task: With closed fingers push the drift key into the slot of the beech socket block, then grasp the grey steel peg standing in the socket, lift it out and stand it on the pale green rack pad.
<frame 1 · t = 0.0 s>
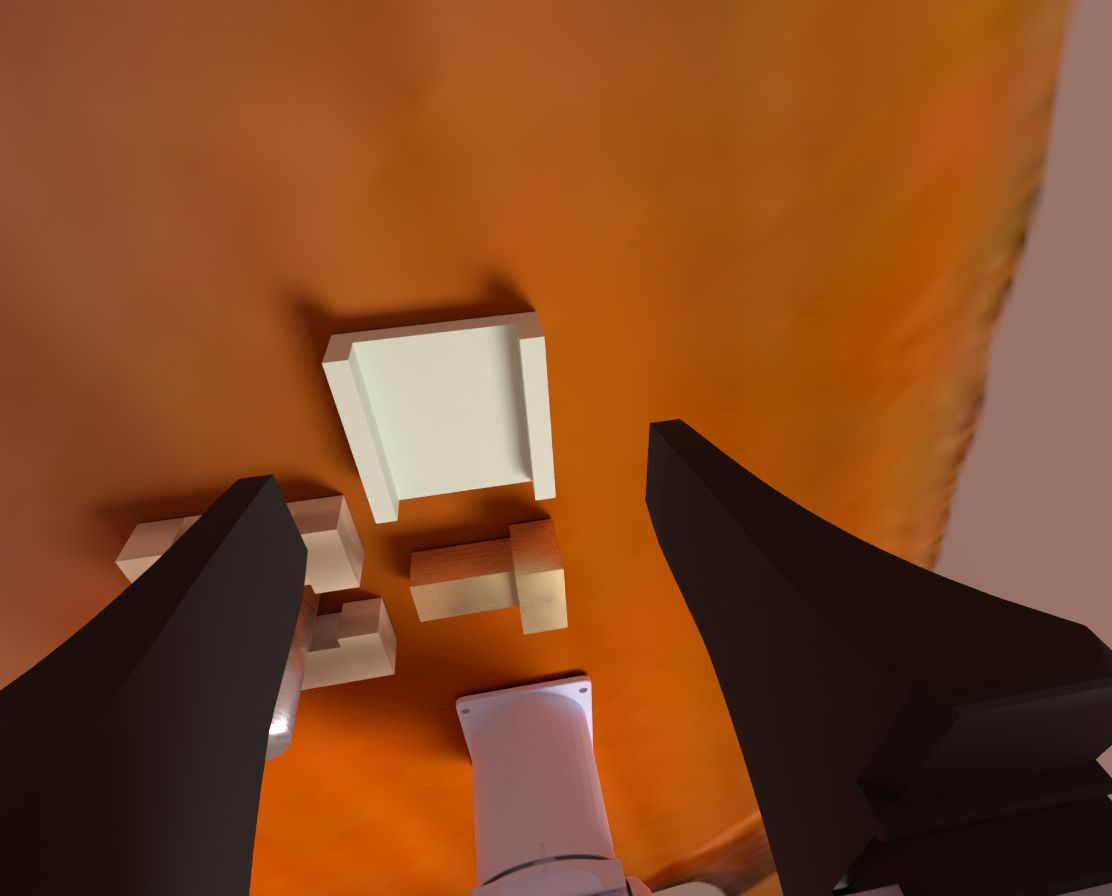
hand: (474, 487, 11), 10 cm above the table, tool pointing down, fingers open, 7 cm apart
drift key: (488, 584, 26), point 2 cm above the table, slide at 0.0 cm
rack pad: (452, 407, 22), on the table
peg: (265, 656, 23), in the socket block
socket block: (284, 589, 26), on the table
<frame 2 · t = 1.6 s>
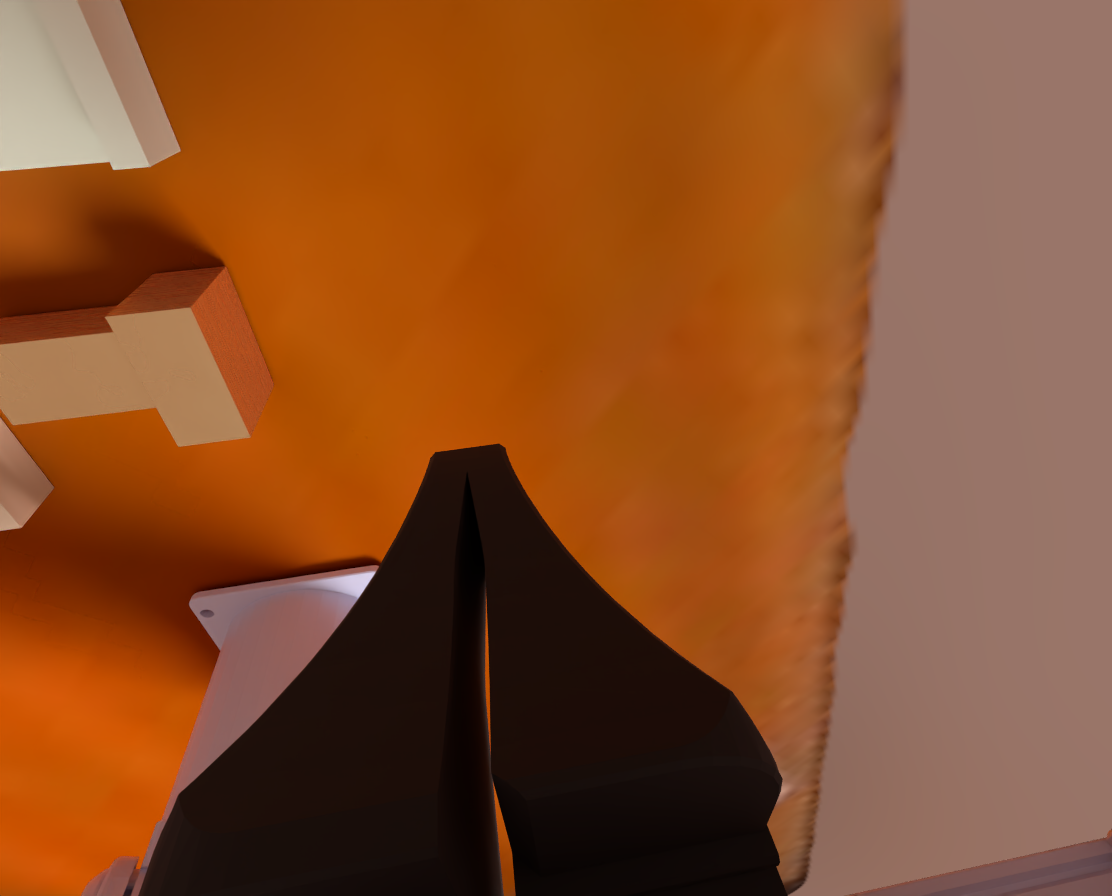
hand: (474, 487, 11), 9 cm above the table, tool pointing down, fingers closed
drift key: (119, 365, 16), point 2 cm above the table, slide at 0.0 cm
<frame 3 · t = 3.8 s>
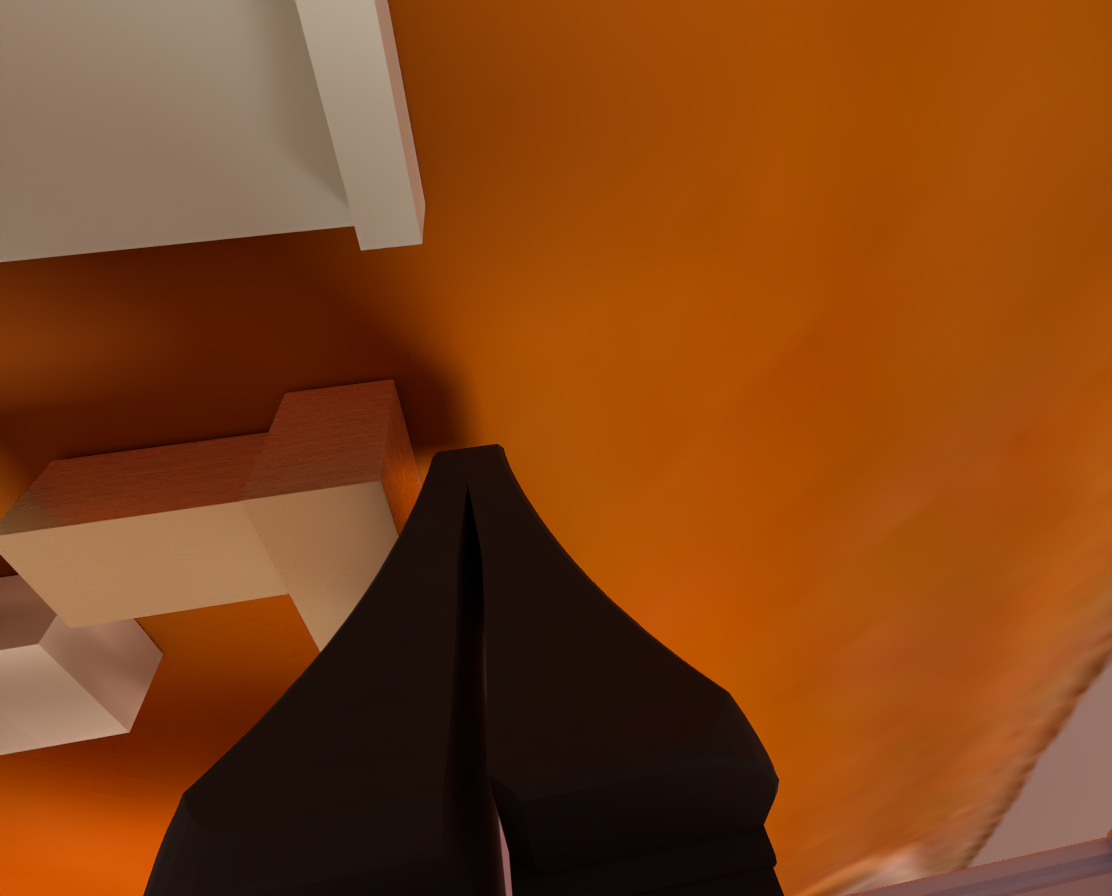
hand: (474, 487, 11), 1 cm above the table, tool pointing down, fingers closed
drift key: (234, 536, 11), point 2 cm above the table, slide at 1.2 cm, touching gripper
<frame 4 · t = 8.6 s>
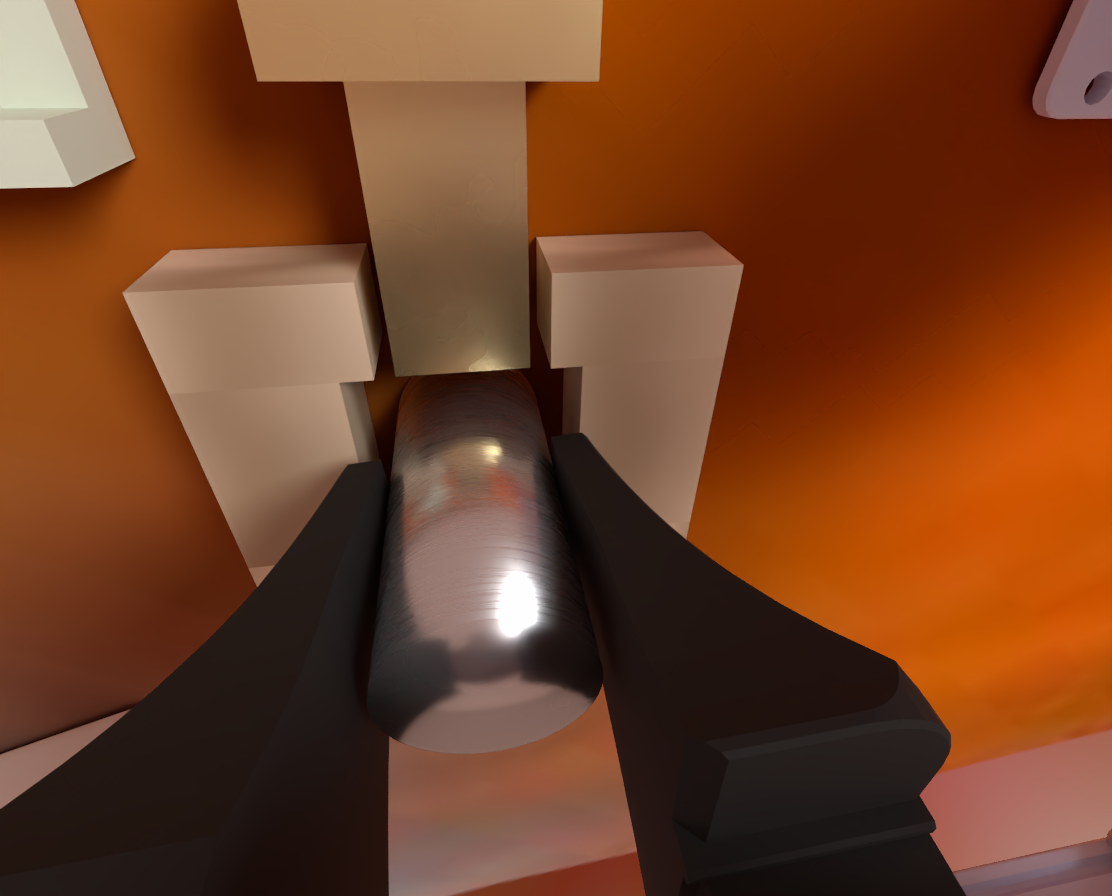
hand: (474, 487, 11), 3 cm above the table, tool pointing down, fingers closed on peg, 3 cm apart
drift key: (445, 169, 9), point 2 cm above the table, slide at 3.7 cm
milk carton: (128, 772, 20), on the table
peg: (476, 518, 11), in the socket block, touching gripper
socket block: (469, 414, 13), on the table
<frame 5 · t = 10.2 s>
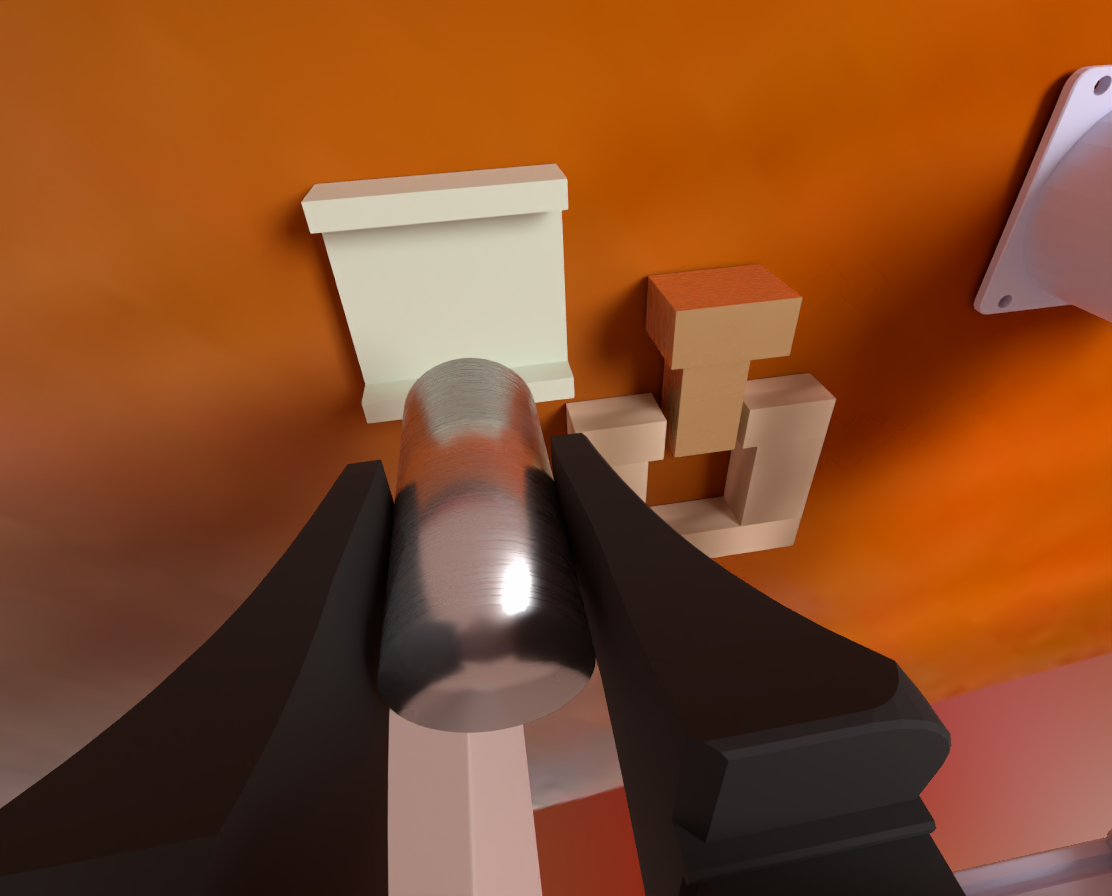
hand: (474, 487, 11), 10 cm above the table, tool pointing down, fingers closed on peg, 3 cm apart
drift key: (709, 373, 21), point 2 cm above the table, slide at 3.7 cm
milk carton: (438, 685, 33), on the table
rack pad: (455, 288, 19), on the table
peg: (478, 514, 11), point 10 cm above the table, touching gripper
socket block: (681, 465, 25), on the table
when the fingers open (4 cm above the table, at t = 12.0 s): peg stays where it is, resting on rack pad.
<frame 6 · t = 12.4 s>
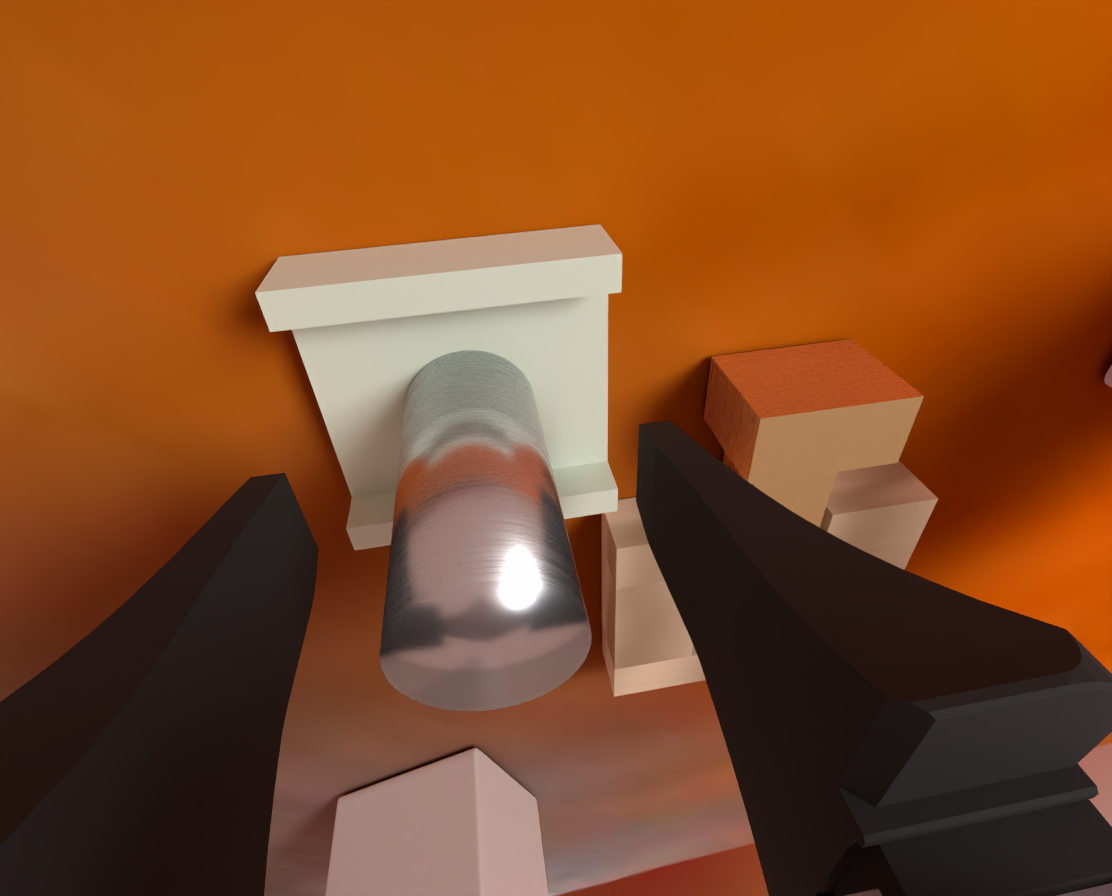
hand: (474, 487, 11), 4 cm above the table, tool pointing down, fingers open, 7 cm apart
drift key: (785, 474, 16), point 2 cm above the table, slide at 3.7 cm
milk carton: (443, 790, 28), on the table
rack pad: (466, 378, 15), on the table
peg: (477, 501, 12), point 4 cm above the table, touching rack pad
socket block: (735, 563, 21), on the table
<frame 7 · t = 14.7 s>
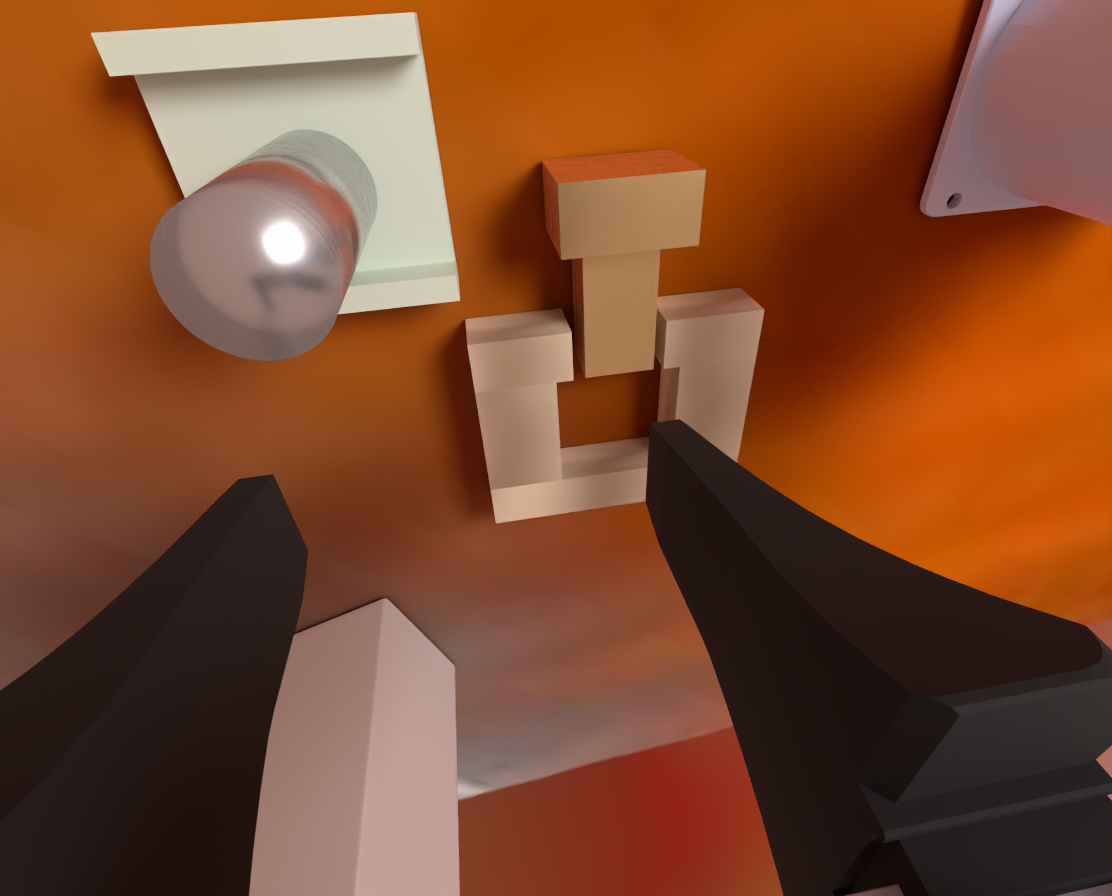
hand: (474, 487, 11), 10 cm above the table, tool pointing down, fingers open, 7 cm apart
drift key: (617, 276, 18), point 2 cm above the table, slide at 3.7 cm
milk carton: (363, 651, 30), on the table
rack pad: (318, 172, 17), on the table
peg: (290, 229, 13), point 4 cm above the table, touching rack pad
socket block: (605, 398, 23), on the table
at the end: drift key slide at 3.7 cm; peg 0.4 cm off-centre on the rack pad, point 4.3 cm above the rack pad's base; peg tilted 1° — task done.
